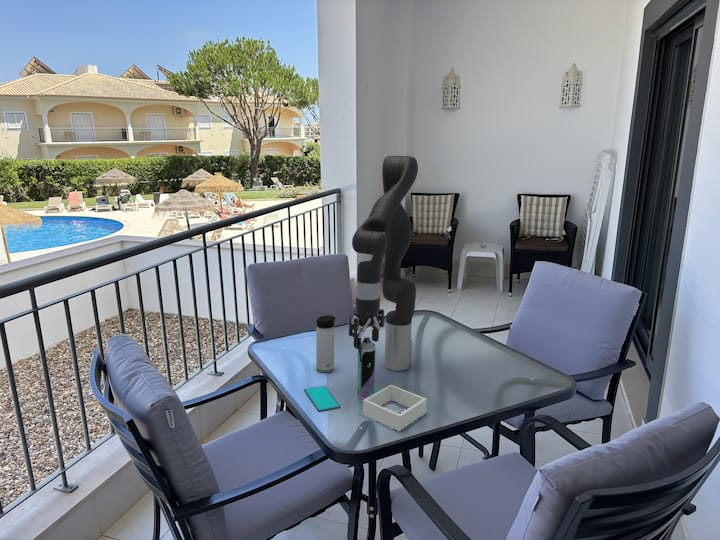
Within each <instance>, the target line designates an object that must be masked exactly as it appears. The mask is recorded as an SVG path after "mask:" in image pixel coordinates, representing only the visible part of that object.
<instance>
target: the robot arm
mask: <svg viewBox="0 0 720 540" xmlns="http://www.w3.org/2000/svg"><path fill="white" fill-rule="evenodd" d="M381 167H382V168H381V169H382V172H381V175H382V189H383V194H382V195H381V196H380V197H379V198H378V199H377V200H376V201H375V203H374V205H372V209H371V211H370V213H369V215H368V217H367V219H366V220H364V222H363V223H362V224H360V225H359V227H358V228H357V229H356V231H355V232H354V233H353V236H352V239H351V245H352V246H351V247H352V249H353V251H354V252H356V253H358V254H365V255H372V258H371V260H362V261H360V262H359V263H358V264H357V273H356V286H355V311H356V313H357V314H356V316H355V317H352V316H350V317H349V323H348V325H349V326H348V337H352V338H353V347H354V349H356V350H358V349H361V342H362V335H363V333H365V332H366V330H367V329H368V328H369V327H371V329H372V330H371V342H374V343H375V342H376V343H377V342H379V338H380V330H381V328H384V326H385V335H384V336H385V338H384V339H385V341H384V343H385V344H384V367H385V368H386V369H388V370H391V371H394V372H400V371H401V372H403V371H405V370H409V368H410V366H411V364H412V348H413V347H412V345H413V341H412V321H413V316H414V313H415V307H416V306H415V305H416V299H417V298H416V297H417V290H416V289H417V288H416V284H415V282H413V281H412V280H409V279H406V278H403V277H402V276H401V264H402V260H403V258H404V257H405V255H406V253H407V251H408V250H409V248H410V245H411V241H412V222H411V218H410V217H409V215H408V213H407V211H406V210H405V208H404V206H403V205H402V202H403V200H404V198H405V197H406V196H407V194H408V192H409V191H410V190H411V189H412V186H413V184H414V183H415V182H416V179H417V176H418V172H419V164H418V160H417V159H416V158H415V156H410V155H387V156H386V157H384V159H383V162H382V166H381ZM383 261H384V262H383ZM382 265H384V266H383V276H382V284H381V269H382ZM381 285H382V286H381ZM381 287H382V291H381ZM381 293H382V296H383V298H384V299H385V300H386V301H388V302H391V303H393V304H395V309H394V310H391V311H388V312H387V313H386V315H385V310H384V309H382V308H381V307H380V306H381Z"/></svg>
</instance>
